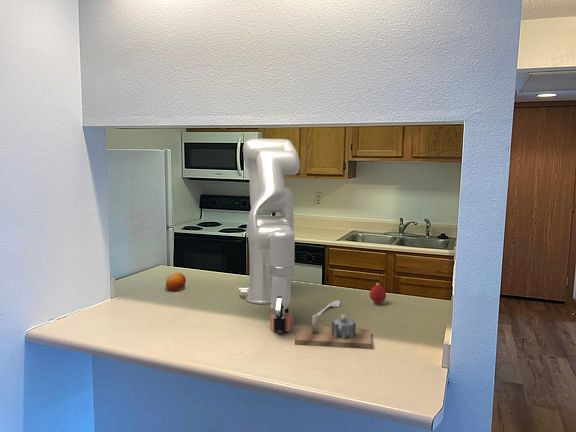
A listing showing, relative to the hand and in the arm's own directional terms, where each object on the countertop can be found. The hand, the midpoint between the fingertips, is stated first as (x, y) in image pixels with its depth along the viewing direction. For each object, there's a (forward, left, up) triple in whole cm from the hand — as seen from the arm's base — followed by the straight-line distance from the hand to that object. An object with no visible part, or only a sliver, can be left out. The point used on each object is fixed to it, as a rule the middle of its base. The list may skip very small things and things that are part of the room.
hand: (281, 325), depth 141 cm
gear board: (+16, -5, -2) cm, 17 cm away
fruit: (-49, +36, -2) cm, 61 cm away
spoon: (+12, +19, -2) cm, 23 cm away
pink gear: (0, 0, -1) cm, 1 cm away
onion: (+31, +29, -2) cm, 43 cm away
